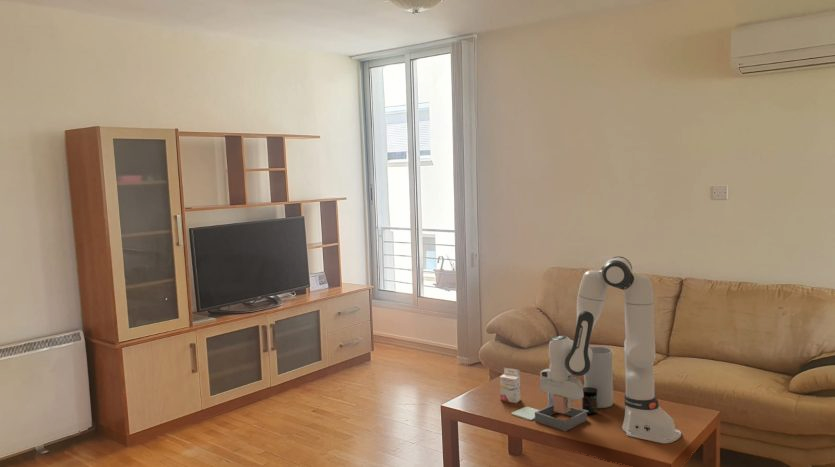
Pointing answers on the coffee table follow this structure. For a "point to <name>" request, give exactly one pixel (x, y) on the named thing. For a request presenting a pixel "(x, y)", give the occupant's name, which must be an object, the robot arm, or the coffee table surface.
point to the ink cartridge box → (510, 386)
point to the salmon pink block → (560, 404)
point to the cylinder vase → (601, 376)
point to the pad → (525, 413)
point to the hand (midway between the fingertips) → (562, 405)
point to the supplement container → (590, 400)
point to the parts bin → (545, 418)
